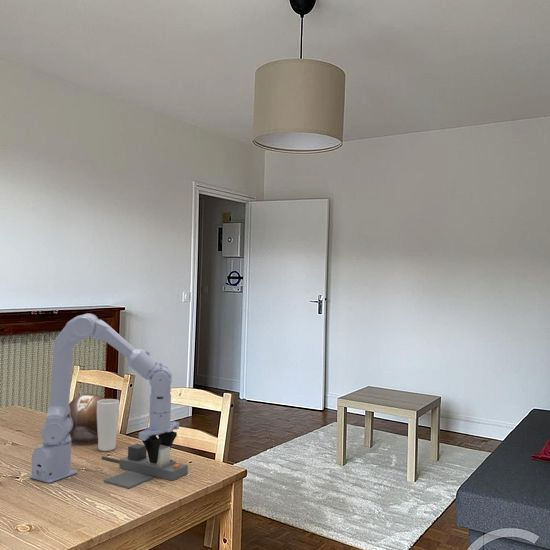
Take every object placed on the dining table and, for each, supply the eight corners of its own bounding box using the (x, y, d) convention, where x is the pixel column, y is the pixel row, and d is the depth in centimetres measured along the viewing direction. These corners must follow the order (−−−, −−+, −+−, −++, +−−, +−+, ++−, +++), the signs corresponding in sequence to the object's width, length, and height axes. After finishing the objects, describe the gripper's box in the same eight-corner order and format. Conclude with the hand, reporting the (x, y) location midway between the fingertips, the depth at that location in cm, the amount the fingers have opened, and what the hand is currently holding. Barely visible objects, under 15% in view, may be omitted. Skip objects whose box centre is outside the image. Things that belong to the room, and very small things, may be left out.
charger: (160, 466, 151) (160, 450, 151) (147, 463, 153) (148, 447, 153) (170, 462, 154) (170, 446, 154) (157, 460, 157) (158, 444, 157)
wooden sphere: (60, 447, 174) (62, 399, 174) (65, 434, 189) (66, 390, 189) (110, 444, 178) (111, 398, 178) (111, 432, 193) (112, 389, 193)
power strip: (172, 480, 147) (172, 458, 147) (94, 461, 161) (94, 441, 161) (187, 473, 153) (188, 452, 153) (110, 455, 167) (111, 436, 167)
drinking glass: (104, 453, 169) (105, 404, 169) (90, 449, 173) (92, 401, 173) (122, 448, 174) (123, 400, 174) (109, 444, 178) (110, 397, 179)
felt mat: (129, 488, 141) (129, 487, 141) (103, 481, 145) (103, 480, 145) (153, 478, 149) (153, 476, 149) (128, 472, 153) (128, 470, 153)
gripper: (153, 418, 146) (152, 470, 145) (187, 408, 158) (186, 456, 158) (133, 414, 149) (132, 465, 149) (168, 405, 162) (167, 452, 161)
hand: (158, 460), depth 154 cm, fingers closed on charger, 4 cm apart
